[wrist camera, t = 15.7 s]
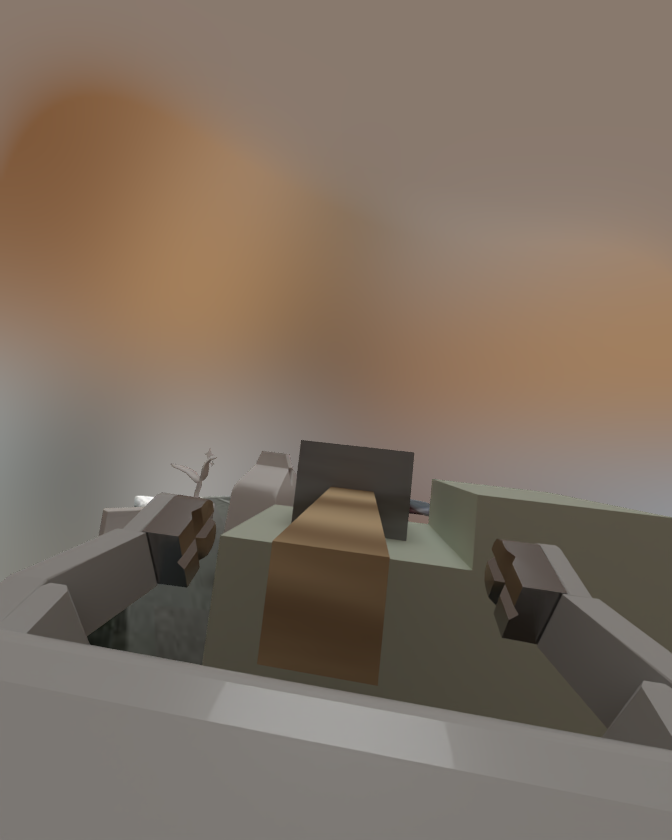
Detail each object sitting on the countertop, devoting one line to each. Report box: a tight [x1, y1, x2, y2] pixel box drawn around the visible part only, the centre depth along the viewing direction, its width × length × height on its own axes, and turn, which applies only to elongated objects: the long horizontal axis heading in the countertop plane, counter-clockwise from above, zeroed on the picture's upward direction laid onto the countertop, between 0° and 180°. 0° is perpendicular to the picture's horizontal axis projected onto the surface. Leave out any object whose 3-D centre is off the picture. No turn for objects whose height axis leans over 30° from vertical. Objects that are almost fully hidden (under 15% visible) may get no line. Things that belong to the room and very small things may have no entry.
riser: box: [202, 479, 672, 737], centre depth 23 cm, size 12×24×26 cm, turn 86°
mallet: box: [257, 440, 414, 686], centre depth 19 cm, size 21×8×6 cm, turn 175°
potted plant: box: [171, 450, 217, 519], centre depth 89 cm, size 13×12×25 cm
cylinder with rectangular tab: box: [99, 507, 144, 536], centre depth 65 cm, size 9×9×12 cm
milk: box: [224, 451, 297, 533], centre depth 66 cm, size 12×12×26 cm
